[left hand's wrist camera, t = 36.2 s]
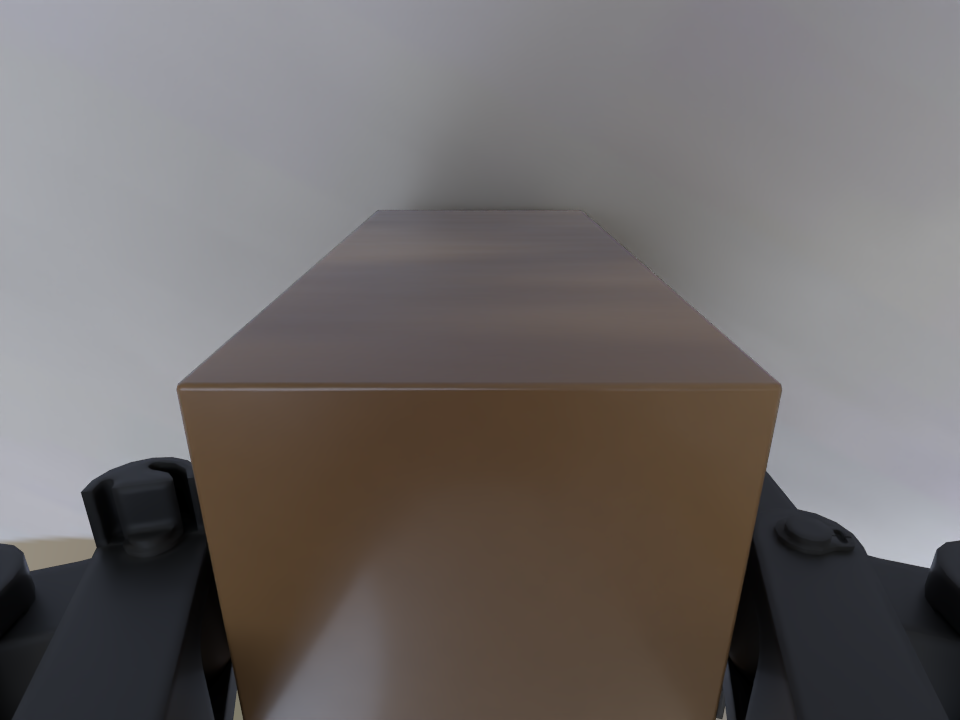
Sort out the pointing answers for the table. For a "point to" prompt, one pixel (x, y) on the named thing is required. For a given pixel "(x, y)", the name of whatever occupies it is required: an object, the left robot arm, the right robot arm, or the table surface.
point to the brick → (479, 479)
